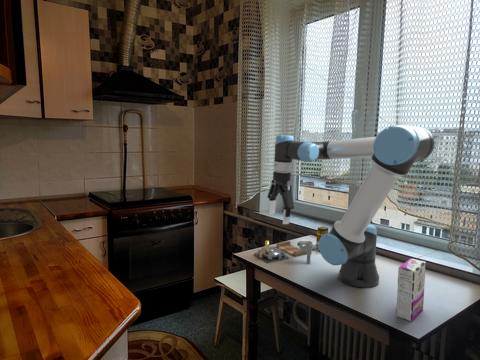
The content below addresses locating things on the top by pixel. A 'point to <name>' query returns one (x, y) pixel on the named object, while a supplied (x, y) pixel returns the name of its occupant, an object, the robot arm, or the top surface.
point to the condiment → (321, 234)
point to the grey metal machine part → (270, 252)
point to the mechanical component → (308, 248)
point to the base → (271, 259)
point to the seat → (291, 249)
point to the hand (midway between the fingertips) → (278, 219)
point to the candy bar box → (410, 289)
